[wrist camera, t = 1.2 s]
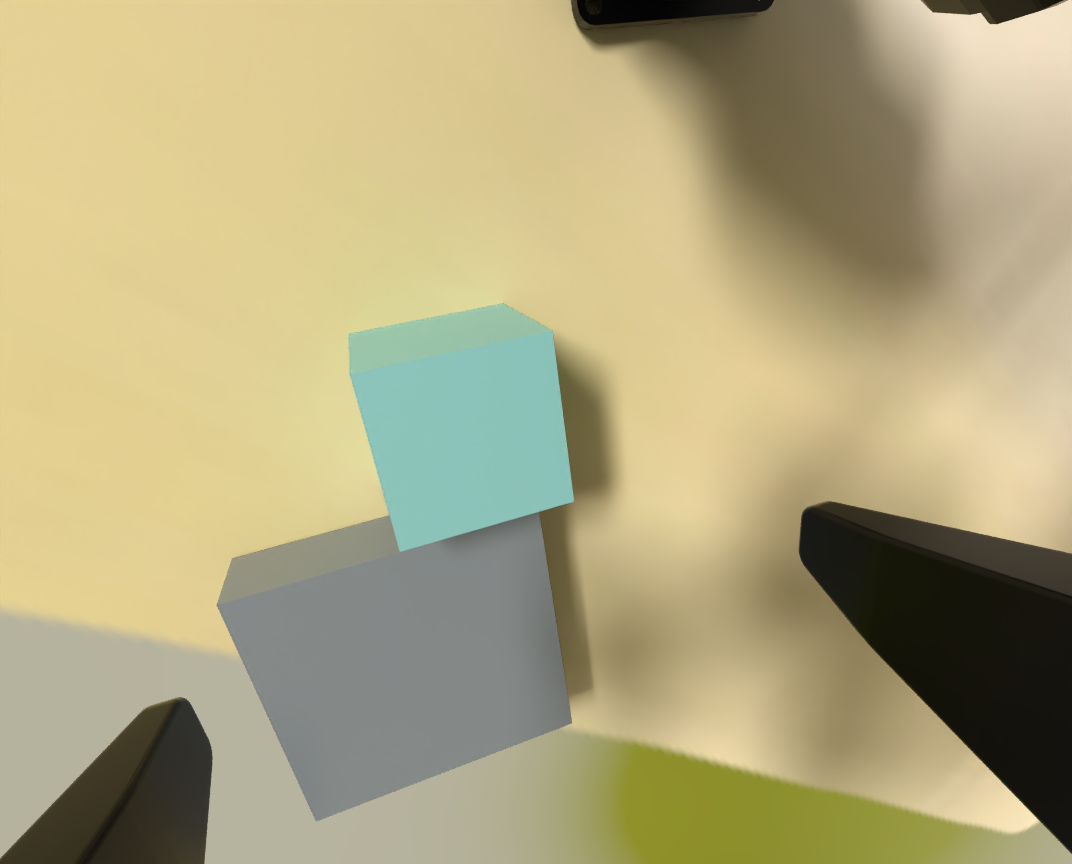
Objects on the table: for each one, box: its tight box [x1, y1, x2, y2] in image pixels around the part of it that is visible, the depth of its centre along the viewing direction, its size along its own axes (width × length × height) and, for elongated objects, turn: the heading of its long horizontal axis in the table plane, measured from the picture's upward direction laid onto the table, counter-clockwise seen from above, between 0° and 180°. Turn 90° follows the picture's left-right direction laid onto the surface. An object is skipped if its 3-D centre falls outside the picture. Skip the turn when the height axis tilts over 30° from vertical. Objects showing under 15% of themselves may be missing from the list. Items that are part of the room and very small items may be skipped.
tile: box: [217, 512, 572, 821], centre depth 21 cm, size 10×10×2 cm
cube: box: [349, 303, 574, 552], centre depth 17 cm, size 5×5×5 cm
